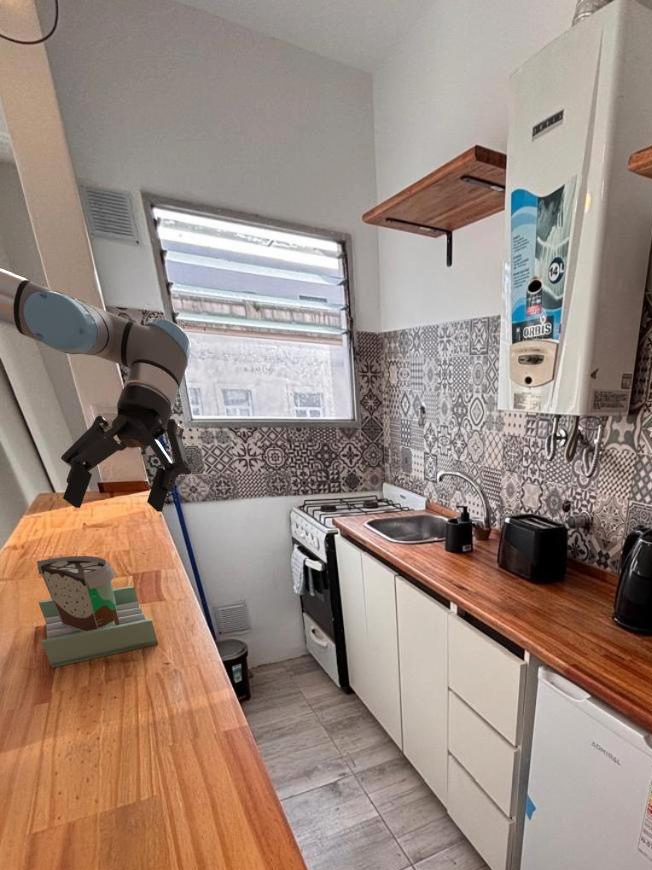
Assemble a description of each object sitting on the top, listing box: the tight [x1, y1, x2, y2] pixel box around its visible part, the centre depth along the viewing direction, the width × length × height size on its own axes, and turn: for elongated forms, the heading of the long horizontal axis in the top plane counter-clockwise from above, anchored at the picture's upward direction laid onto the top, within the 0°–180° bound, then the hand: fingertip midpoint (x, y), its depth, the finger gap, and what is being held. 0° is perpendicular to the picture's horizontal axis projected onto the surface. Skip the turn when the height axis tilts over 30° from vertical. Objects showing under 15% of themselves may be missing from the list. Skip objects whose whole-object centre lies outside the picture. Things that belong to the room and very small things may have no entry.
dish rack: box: [38, 585, 159, 669], centre depth 80 cm, size 18×13×4 cm
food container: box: [36, 555, 120, 632], centre depth 77 cm, size 12×6×10 cm, turn 64°
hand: (112, 505), depth 82 cm, fingers open, 13 cm apart
